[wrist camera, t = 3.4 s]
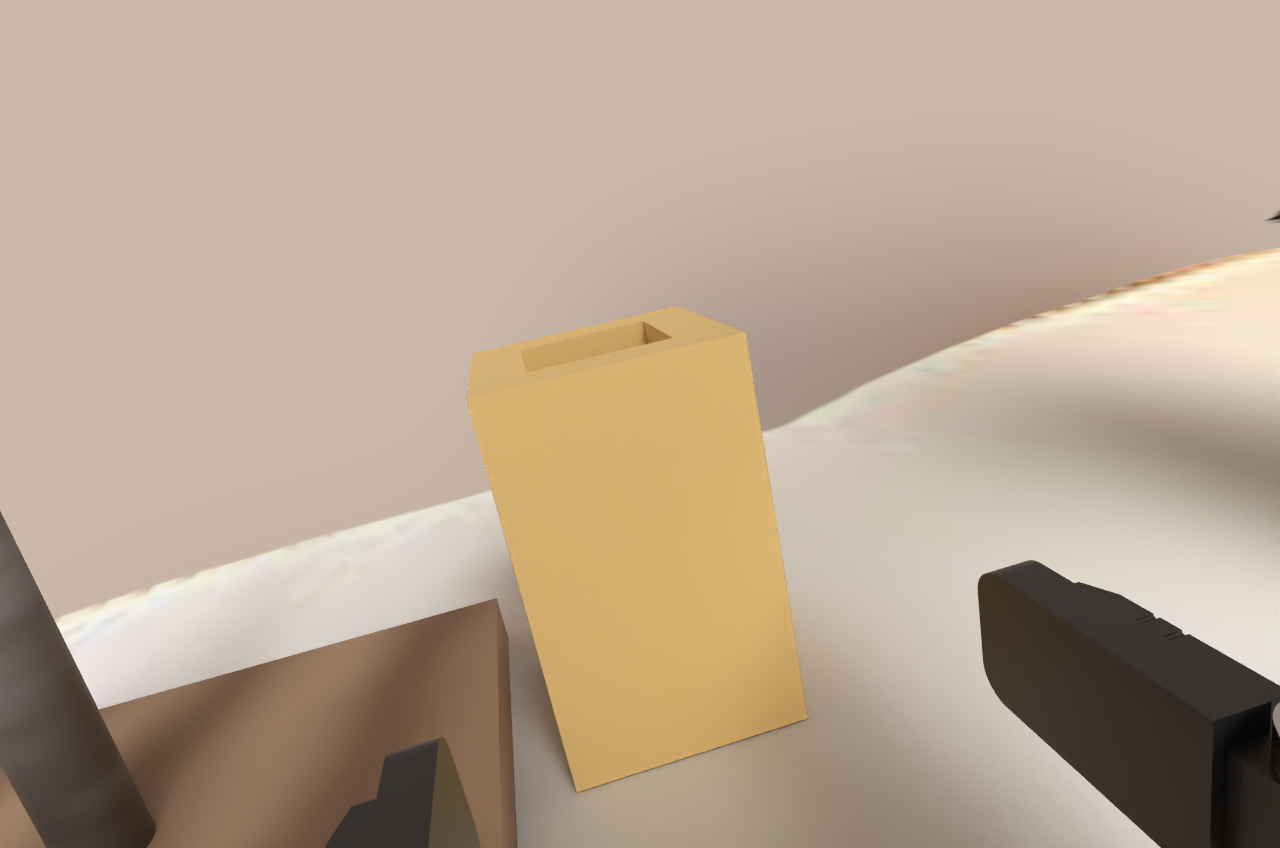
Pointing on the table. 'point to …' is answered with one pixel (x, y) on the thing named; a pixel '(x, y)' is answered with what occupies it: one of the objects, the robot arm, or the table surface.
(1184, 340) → the table surface
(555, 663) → the bead
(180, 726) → the spindle stand
